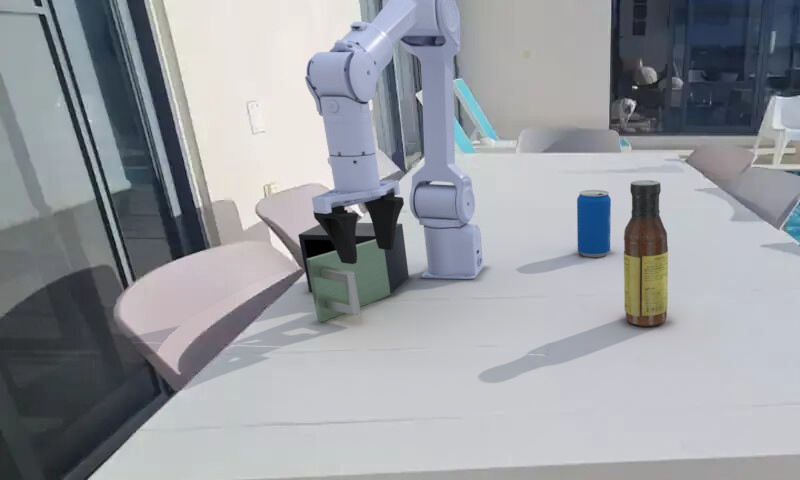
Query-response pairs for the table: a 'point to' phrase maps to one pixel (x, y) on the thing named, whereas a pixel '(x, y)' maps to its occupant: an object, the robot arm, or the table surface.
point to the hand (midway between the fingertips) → (368, 255)
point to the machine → (320, 243)
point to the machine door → (348, 281)
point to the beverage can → (593, 222)
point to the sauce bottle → (645, 258)
